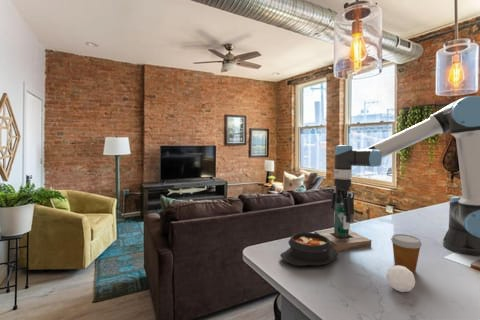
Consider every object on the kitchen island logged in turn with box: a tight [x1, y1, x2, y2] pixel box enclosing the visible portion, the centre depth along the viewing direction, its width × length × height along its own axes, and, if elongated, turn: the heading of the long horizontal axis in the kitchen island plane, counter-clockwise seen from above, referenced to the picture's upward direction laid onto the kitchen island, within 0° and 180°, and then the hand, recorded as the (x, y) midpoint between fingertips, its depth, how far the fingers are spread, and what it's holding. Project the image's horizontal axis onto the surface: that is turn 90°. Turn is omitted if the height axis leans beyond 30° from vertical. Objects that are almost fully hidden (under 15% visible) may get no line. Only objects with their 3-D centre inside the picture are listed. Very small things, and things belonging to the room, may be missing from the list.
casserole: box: [279, 232, 339, 267], centre depth 105 cm, size 25×19×8 cm
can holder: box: [313, 228, 372, 252], centre depth 123 cm, size 18×18×3 cm
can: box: [333, 201, 350, 237], centre depth 123 cm, size 6×6×15 cm
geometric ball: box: [386, 265, 416, 293], centre depth 83 cm, size 8×8×8 cm
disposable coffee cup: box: [390, 233, 423, 274], centre depth 96 cm, size 10×10×12 cm
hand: (341, 226), depth 123 cm, fingers closed on can, 6 cm apart
